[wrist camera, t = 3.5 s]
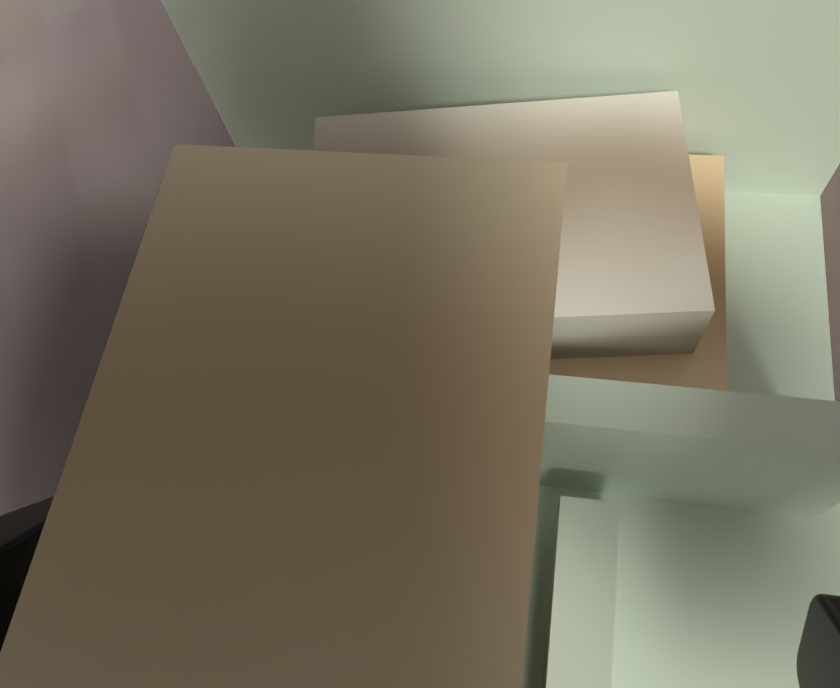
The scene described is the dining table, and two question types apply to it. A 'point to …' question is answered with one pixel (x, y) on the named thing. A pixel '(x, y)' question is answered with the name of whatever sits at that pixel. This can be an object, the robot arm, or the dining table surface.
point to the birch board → (308, 433)
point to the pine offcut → (710, 353)
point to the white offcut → (584, 207)
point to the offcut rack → (618, 400)
